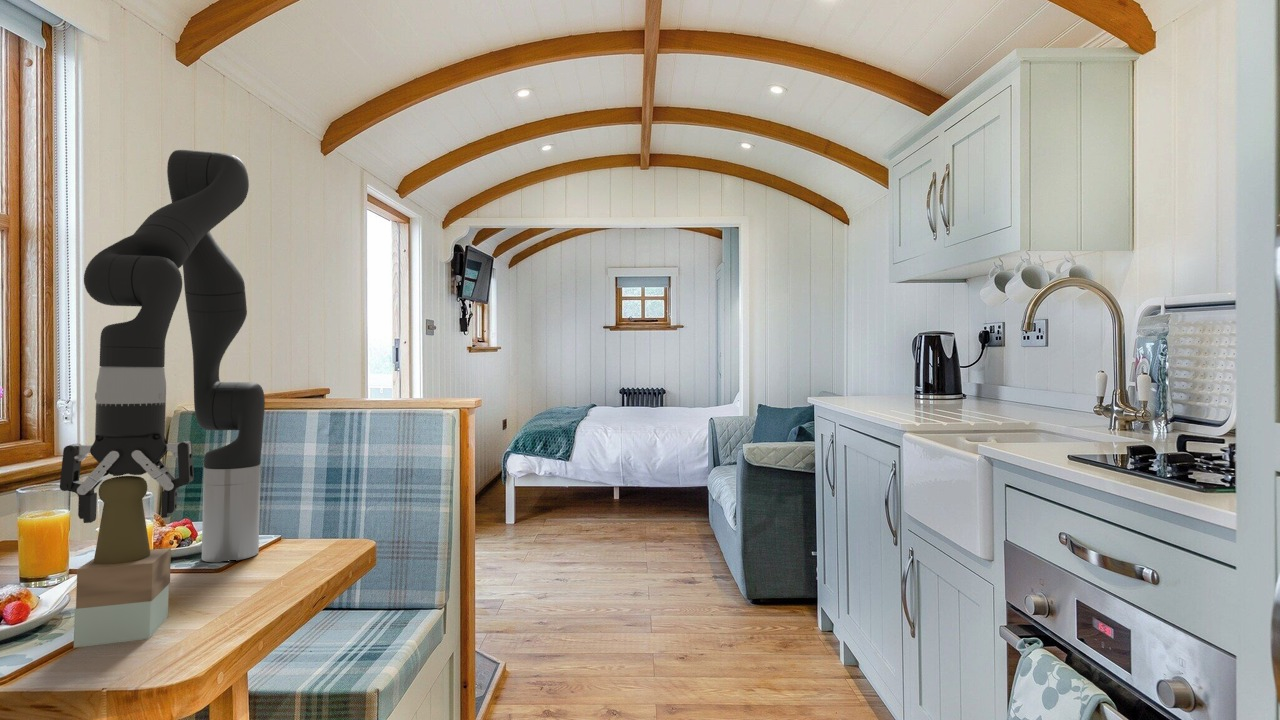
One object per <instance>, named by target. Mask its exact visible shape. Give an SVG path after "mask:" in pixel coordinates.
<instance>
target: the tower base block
mask: <svg viewBox="0 0 1280 720" xmlns="http://www.w3.org/2000/svg"><path fill="white" fill-rule="evenodd" d="M169 585H170V583H169V584H168V585H167V586H166V587H165V588H164V589H163V590H162V591H161V592H160V593H159V594H158V595H157V596H156V597H155V598H154V599H153V600H152V601H149V602H139V603H129V604H118V605H108V606H98V607H88V608H78V609H76V607H75V608H74V618H73V619H74V621H73V622H74V624H73V627H74V628H73V649H74V648H84V647H91V646H99V645H100V646H101V645H106V644H107V645H108V644H114V643H123V642H133V641H140V640H150V639H151V637H152V636H154V634H155V633H156V632H157V631H158V630H159V628H160V627H161V626H162V625H163V624H164V623H165V621H166V620H167V619H168V618H169V592H170V591H169V590H170V589H169V588H170V586H169Z"/></svg>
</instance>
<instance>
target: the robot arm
mask: <svg viewBox="0 0 1280 720" xmlns="http://www.w3.org/2000/svg"><path fill="white" fill-rule="evenodd" d="M166 167H167V170H166V173H167V174H166V175H167V183H168V184H167V185H168V189H169V194H170V200H171V203H169V204H167V205H164V206H163V207H160V208H158V209H156V210H155V211H154V212H153V213H151V214H150V215H149V216H147V218H146V219H145V220H144V221H143V222H142V223H141V224H140V226H139V227H138V228H137V230H136V231H135V232H134V233H133V234H131V235H129V236H127V237H124V238H122V239H120V240H118V241H117V242H115V243H114V244H111V245H110V246H107V247H105V248H104V249H103V250H100V251H99V252H98V253H97V254H96V255H95V256H94V257H92V259H90V261H89V262H88V264H87V266H86V268H85V270H84V274H83V283H84V288H85V290H86V293H88V295H89V296H90V298H92V299H93V300H94V301H96V302H97V303H100V304H103V305H106V306H113V307H140V309H139V312H138V313H137V314H136V315H135V317H134V318H133V319H131V320H128V321H123V322H118V323H112V324H109V325H106V326H104V327H103V328H102V330H101V331H100V332H101V333H100V339H99V340H100V341H99V368H98V376H97V380H96V386H95V387H96V389H95V390H96V391H95V395H94V400H95V423H94V424H95V425H94V426H95V427H94V435H95V436H94V437H95V438H94V442H93V444H92V445H88V444H86V445H85V444H83V445H82V444H80V443H72V444H69V445H66V446H65V447H64V448H63V451H62V459H61V460H62V462H61V469H60V470H61V471H60V479H59V489H60V491H63V492H66V491H67V492H71V493H75V494H76V495H78V496H77V497H78V504H77V505H78V509H77V516H78V518H79V519H80V520H82V521H83V523H84V524H91V523H93V522H95V521H96V520H97V507H98V506H97V504H98V503H97V501H98V492H95V489H97V487H99V486H100V485H101V484H102V482H103V481H105V479H107V477H109V475H112V476H113V477H119V476H126V475H130V476H142V475H144V474H148V475H149V476H150V478H152V479H153V480H155V481H156V482H157V483H158V484H159V486H161V487H162V488H163V489H164V490H162V491H161V508H160V509H161V510H160V511H161V512H160V516H161V519H165V518H170V517H171V516H172V514H173V513H174V512H176V511H177V508H178V489H179V488H180V487H182V486H186V485H188V484H190V483H192V482H193V481H194V478H195V476H194V475H195V473H194V455H193V442H191V441H190V440H184V441H182V442H172V443H171V442H170V443H168V441H167V440H166V408H167V406H166V404H167V403H166V402H167V381H166V374H165V364H166V363H165V357H166V356H165V355H166V338H167V334H168V330H169V328H170V324H171V321H172V318H173V316H174V312H175V310H176V308H177V304H178V301H179V300H180V297H181V293H182V289H183V284H184V297H185V304H186V305H185V306H186V311H187V317H188V318H187V319H188V325H189V333H190V339H191V340H190V341H191V347H192V348H191V349H192V361H193V363H192V364H193V400H194V401H193V403H194V404H193V405H194V406H193V407H194V414H195V418H196V422H197V423H198V425H199V427H200V428H201V429H203V430H206V431H238V434H237V437H236V439H235V440H233V441H232V442H230V443H228V444H227V445H224V446H221V447H218V448H214V449H212V450H209V451H207V452H206V453H205V454H204V456H203V480H202V481H203V489H202V492H203V493H202V526H201V533H202V536H201V561H204V562H207V563H222V562H221V561H228V560H236V561H241V560H246V559H248V558H249V559H250V558H252V557H254V556H256V555H258V554H259V550H260V549H259V548H260V547H259V545H260V544H259V543H260V507H261V506H260V502H261V501H260V500H261V464H262V463H261V460H262V459H261V458H262V451H263V450H262V447H263V427H264V419H265V417H264V416H265V408H266V407H265V405H266V404H265V403H266V401H265V400H266V399H265V393H264V389H263V387H262V386H261V384H260V383H257V382H252V381H251V382H246V381H245V382H244V381H243V382H242V381H241V382H240V381H238V382H237V381H234V382H233V381H228V382H227V381H221V380H220V367H221V366H220V365H221V361H222V359H223V357H224V355H225V353H226V351H227V350H228V348H229V346H230V345H231V343H232V342H233V340H234V339H235V338H236V336H237V335H238V333H239V332H240V330H241V329H242V327H243V325H244V323H245V322H246V318H247V316H248V307H247V297H246V287H245V281H244V278H243V276H242V273H241V272H240V271H239V269H238V268H237V266H236V265H235V264H234V263H233V261H232V260H231V259H230V257H229V256H228V255H227V254H226V253H225V252H224V250H223V249H222V248H221V247H220V245H219V244H218V243H217V241H216V239H215V238H214V236H213V235H212V234H211V232H210V231H212V229H214V228H215V227H216V226H217V225H219V224H220V223H221V222H223V221H224V220H225V219H226V218H227V217H229V216H230V215H231V214H232V213H233V212H235V211H236V210H237V209H239V207H240V206H242V205H243V203H244V202H245V200H246V198H247V196H248V193H249V187H250V184H249V183H250V182H249V175H248V171H247V168H246V165H245V164H244V162H243V160H241V159H240V158H239V157H237V156H236V155H233V154H228V153H225V152H224V153H223V152H214V151H213V152H212V151H205V150H204V151H202V150H201V151H200V150H190V149H189V150H188V149H177V150H176V149H175V150H173V151H172V153H171V154H170V155H169V157H168V160H167V166H166ZM181 267H182V271H183V272H182V273H181V270H180V268H181ZM182 275H183V276H182ZM182 277H183V278H182ZM168 452H170V453H171V454H172V457H173V458H175V459H177V467H178V477H175V476H174V475H173V474H172V473H171V472H170V470H169V467H167V466H166V464H164V463H163V462H162V458H163V457H165V455H166V454H167V453H168ZM89 454H90V455H91V456H92V458H94V460H95V461H96V462H97V463H98V465H97V466H96V467H95V468H94V469H93V470H92V471H91V472H90V473H89V474H88V475H87V477H86V479H85V480H84V481H80V477H81V476H80V475H81V465H82V461H85V460H86V459H87V457H88V455H89Z"/></svg>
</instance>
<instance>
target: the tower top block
mask: <svg viewBox="0 0 1280 720" xmlns="http://www.w3.org/2000/svg"><path fill="white" fill-rule="evenodd" d="M150 553H151V554H150V555H149V556H147V557H145V558H142V559H139V560H135V561H131V562H125V563H118V564H96V563H94V558H92V559H91V560H89V561H88V562H85V564H83V565H81V566H80V567H79V568H77V569H76V589H75V590H76V593H75V594H76V595H75V608H76V609H78V608H88V607H98V606H108V605H118V604H129V603H139V602H149V601H152V600H153V599H154V598H155V597H156V596H157V595H158V594H159V593H160V592H161V591H162V590H163V589H164V588H165V587H166V586H167V585H168V584H169V585H170V584H171V562H172V561H171V560H172V559H171V558H172V547H168V548H167V547H166V548H164V547H163V548H155V549H154V548H152V549H150Z"/></svg>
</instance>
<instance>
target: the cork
mask: <svg viewBox="0 0 1280 720" xmlns="http://www.w3.org/2000/svg"><path fill="white" fill-rule="evenodd" d="M98 487H99V488H98V497H99V499H100V500H101V502H102V503H103V506H102V513H101V518H100V524H99V529H98V533H97V534H98V535H97V540H96V545H95V546H96V547H95V552H94V557H93V559H94V563H96V564H118V563H125V562H131V561H135V560H139V559H142V558H145V557H147V556H149V555H150V554H151V553H150V550H151V549H150V548H151V547H150V541H149V535H148V529H147V522H146V517H145V515H146V514H145V509H144V504H143V499H144V498H145V496H146V495H147V492H148V483H147V481H146V479H145V478H143V477H141V476H139V475H121V476H113V477H111V478H106V480H105V479H104V480H103V481H102V482H101V483H100V484H99V486H98Z"/></svg>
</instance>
